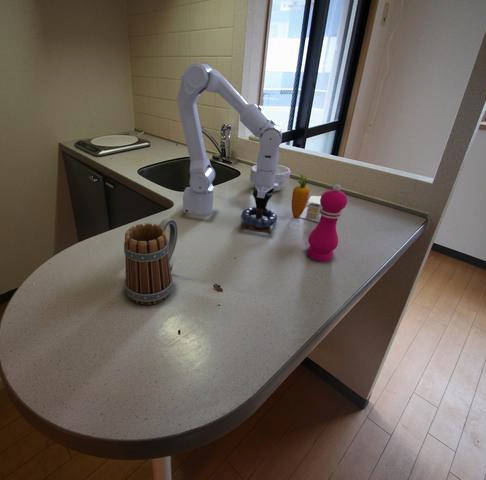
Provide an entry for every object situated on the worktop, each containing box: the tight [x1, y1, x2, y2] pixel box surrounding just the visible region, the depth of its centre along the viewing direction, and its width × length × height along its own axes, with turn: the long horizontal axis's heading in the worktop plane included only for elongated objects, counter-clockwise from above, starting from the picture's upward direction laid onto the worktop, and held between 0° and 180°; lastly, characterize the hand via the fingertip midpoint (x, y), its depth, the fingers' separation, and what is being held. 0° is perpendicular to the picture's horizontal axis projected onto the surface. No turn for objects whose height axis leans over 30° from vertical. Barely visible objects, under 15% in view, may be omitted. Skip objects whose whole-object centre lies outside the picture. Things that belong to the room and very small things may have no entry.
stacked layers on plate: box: [299, 195, 322, 223], centre depth 105 cm, size 10×9×6 cm
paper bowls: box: [249, 164, 291, 192], centre depth 125 cm, size 15×15×8 cm
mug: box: [123, 217, 179, 306], centre depth 69 cm, size 16×11×15 cm
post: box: [240, 207, 274, 234], centre depth 96 cm, size 9×9×6 cm
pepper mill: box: [306, 183, 348, 263], centre depth 80 cm, size 7×7×20 cm
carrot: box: [291, 173, 311, 220], centre depth 99 cm, size 5×5×15 cm
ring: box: [240, 206, 278, 228], centre depth 96 cm, size 11×11×2 cm
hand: (260, 211), depth 99 cm, fingers closed on ring, 2 cm apart
